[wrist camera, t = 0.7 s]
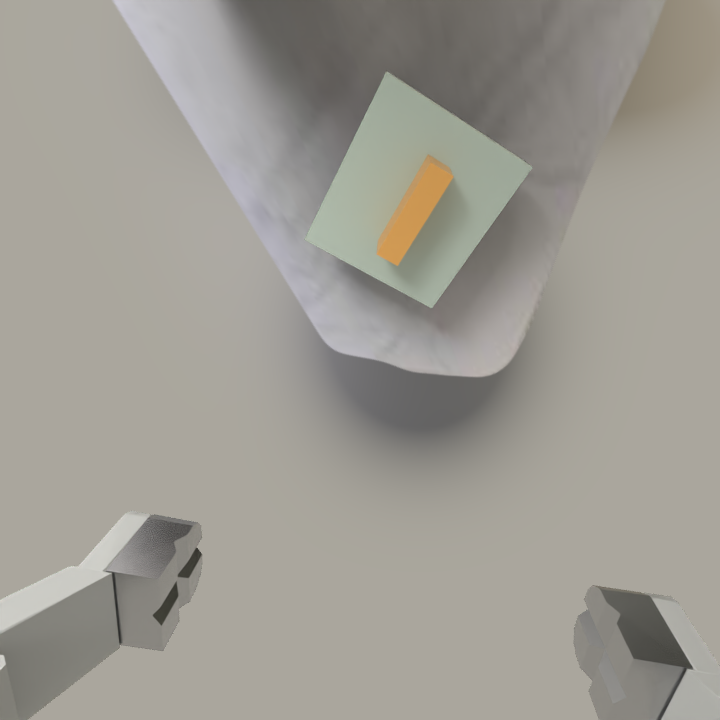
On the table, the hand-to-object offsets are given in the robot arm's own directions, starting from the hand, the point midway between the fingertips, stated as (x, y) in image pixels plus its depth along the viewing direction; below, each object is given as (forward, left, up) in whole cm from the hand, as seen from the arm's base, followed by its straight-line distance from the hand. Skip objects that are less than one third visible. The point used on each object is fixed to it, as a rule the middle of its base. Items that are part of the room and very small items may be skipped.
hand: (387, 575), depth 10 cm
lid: (0, +2, -37) cm, 37 cm away
